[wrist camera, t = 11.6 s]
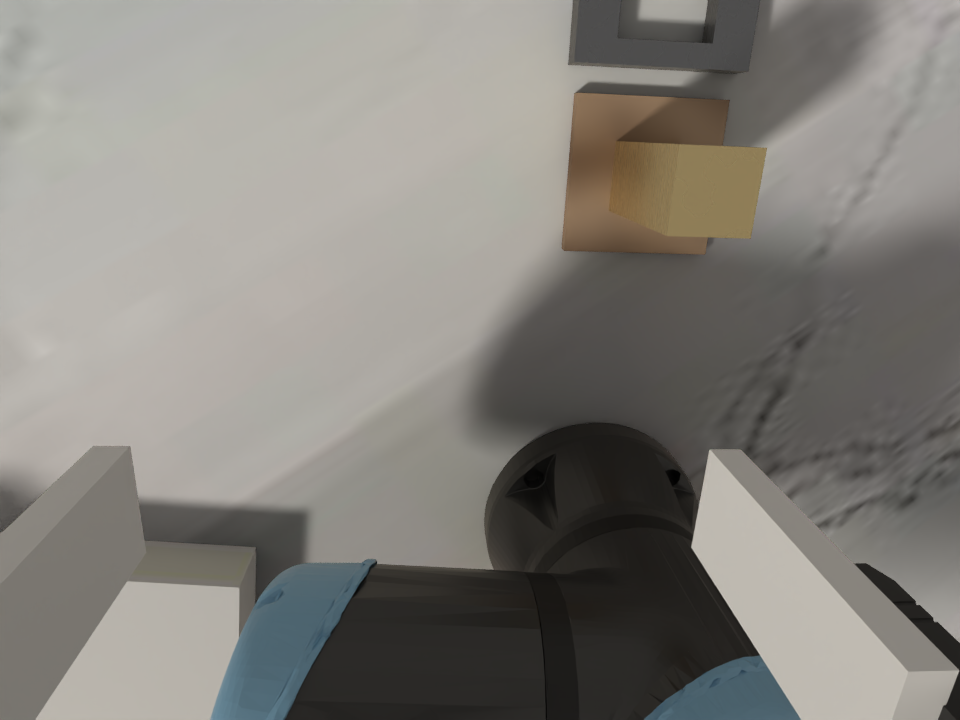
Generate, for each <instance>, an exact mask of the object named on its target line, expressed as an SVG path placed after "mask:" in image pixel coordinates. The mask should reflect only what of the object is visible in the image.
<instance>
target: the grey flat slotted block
mask: <svg viewBox="0 0 960 720" xmlns="http://www.w3.org/2000/svg"><path fill="white" fill-rule="evenodd" d="M759 3H760V0H708V6H707V13H706V20H705V27H704V34H703V41H702V43H694V42H676V41H659V40H641V39H624V38H618V28H619V18H620V8H621V0H573V11H572V24H571V36H570V49H569V62H568V65H583V66H602V67H621V68H639V69H658V70H677V71H696V72H715V73H734V74H737V73H742V72H747V71H748V70H749V64H750V58H751V52H752V46H753V40H754V33H755V27H756V21H757V15H758V9H759Z"/></svg>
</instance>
